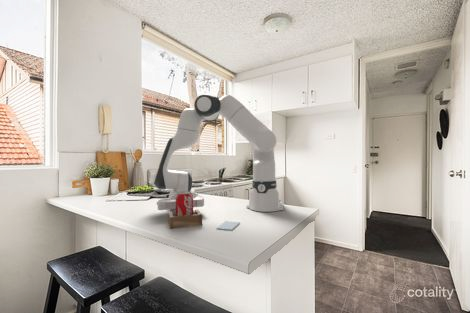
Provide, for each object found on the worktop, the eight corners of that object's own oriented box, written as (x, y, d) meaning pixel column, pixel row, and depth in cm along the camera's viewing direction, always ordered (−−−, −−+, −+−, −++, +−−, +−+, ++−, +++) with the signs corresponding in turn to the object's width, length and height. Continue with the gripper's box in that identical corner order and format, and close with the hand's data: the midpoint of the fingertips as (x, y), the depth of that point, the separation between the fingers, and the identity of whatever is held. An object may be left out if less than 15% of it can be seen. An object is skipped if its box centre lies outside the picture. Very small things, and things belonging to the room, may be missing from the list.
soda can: (181, 225, 86) (180, 194, 86) (172, 221, 92) (172, 192, 92) (196, 221, 91) (196, 192, 91) (187, 218, 96) (187, 190, 96)
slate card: (225, 223, 90) (225, 221, 90) (239, 224, 88) (239, 222, 88) (216, 230, 82) (216, 227, 82) (231, 232, 80) (231, 229, 80)
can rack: (168, 221, 92) (168, 212, 92) (197, 218, 96) (197, 209, 96) (170, 228, 83) (170, 217, 83) (202, 224, 87) (202, 214, 87)
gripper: (156, 195, 103) (156, 201, 90) (200, 192, 110) (206, 197, 97) (156, 209, 103) (156, 216, 90) (200, 205, 110) (206, 212, 97)
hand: (183, 206), depth 94 cm, fingers closed, pressing on soda can
